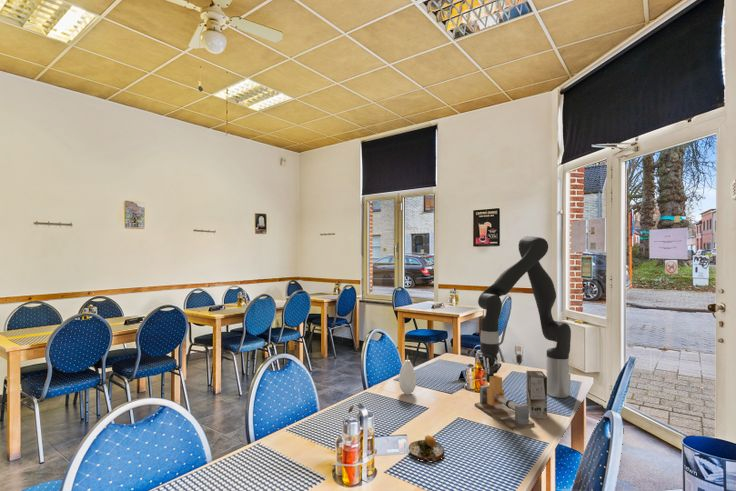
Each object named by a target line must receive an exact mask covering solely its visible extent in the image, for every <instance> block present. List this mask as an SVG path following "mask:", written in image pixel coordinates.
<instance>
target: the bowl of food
mask: <svg viewBox="0 0 736 491" xmlns="http://www.w3.org/2000/svg"><path fill="white" fill-rule="evenodd" d="M434 436H435V434H433V436H432V435H425V436H424V439H421V440H419V439H418V440H415V441H413V442H411V443H410V444H409V445H408V450H409V452H410V454H411V455H412V456H415V457H416V460H417V459H419V460H424V461H425V460H426V461H427V462H428V461H435V462H436V461H438V460H440V459H441V458H444V457H445V448H444V446H443V445H442V444H440V443H439V442H437V441H436V439H435V438H434ZM443 456H444V457H443ZM419 460H418V461H419ZM441 460H442V459H441Z"/></svg>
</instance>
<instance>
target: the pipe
mask: <svg viewBox="0 0 736 491" xmlns="http://www.w3.org/2000/svg"><path fill="white" fill-rule="evenodd" d="M488 388H489V384H487V385H481V386H479V403H481V404H486V403H487V389H488ZM494 400H496V401H498V402H499V403H501V404H502V405H504V406H505V407H507V408H509V409H511V410H512V411H514V412H515V424H516V425H517V426H520V425H525V424H529V420H530V415H529V405H527V403H521V404H519V403H517V402H515V401H514V400H511V399H510V398H508V397H506V396H505V395H504V396H502V395H500V394H498V393H494Z"/></svg>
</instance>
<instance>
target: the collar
mask: <svg viewBox="0 0 736 491" xmlns="http://www.w3.org/2000/svg"><path fill="white" fill-rule="evenodd" d="M488 385H489V388H488V389H487V403H488V404H490V405H491V406H494V405H500V404H501V403H499V402H498V401H496V400H494V393H498V394H500V395H502V396H504V397H505V388H503V377H502V376H500V375H496V374H495V375H493V376H489V383H488Z"/></svg>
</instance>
